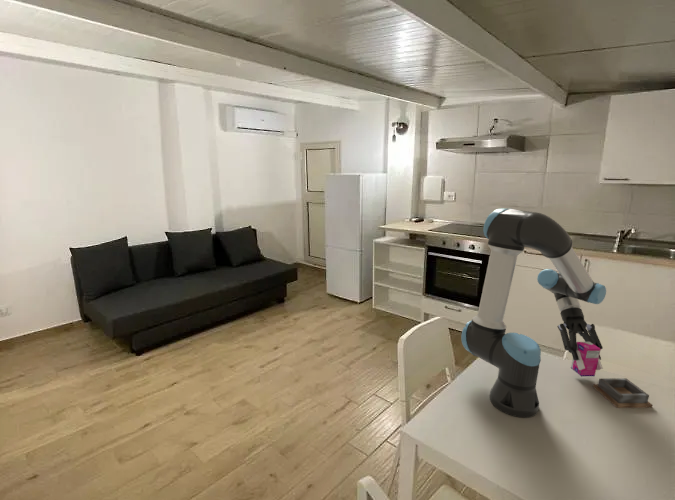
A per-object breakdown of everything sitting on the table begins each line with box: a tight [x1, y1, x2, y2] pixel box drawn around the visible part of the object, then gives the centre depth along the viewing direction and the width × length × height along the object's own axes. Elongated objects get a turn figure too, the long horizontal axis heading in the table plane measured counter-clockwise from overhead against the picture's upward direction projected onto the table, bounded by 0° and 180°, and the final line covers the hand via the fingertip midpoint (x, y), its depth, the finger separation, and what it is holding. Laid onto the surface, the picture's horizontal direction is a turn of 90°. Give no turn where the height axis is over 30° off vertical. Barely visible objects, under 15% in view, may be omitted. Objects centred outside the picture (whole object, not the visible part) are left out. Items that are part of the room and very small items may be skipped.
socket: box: [592, 377, 653, 409], centre depth 132 cm, size 12×12×4 cm
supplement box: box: [570, 341, 602, 377], centre depth 141 cm, size 6×6×12 cm
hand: (590, 369), depth 138 cm, fingers closed on supplement box, 6 cm apart
